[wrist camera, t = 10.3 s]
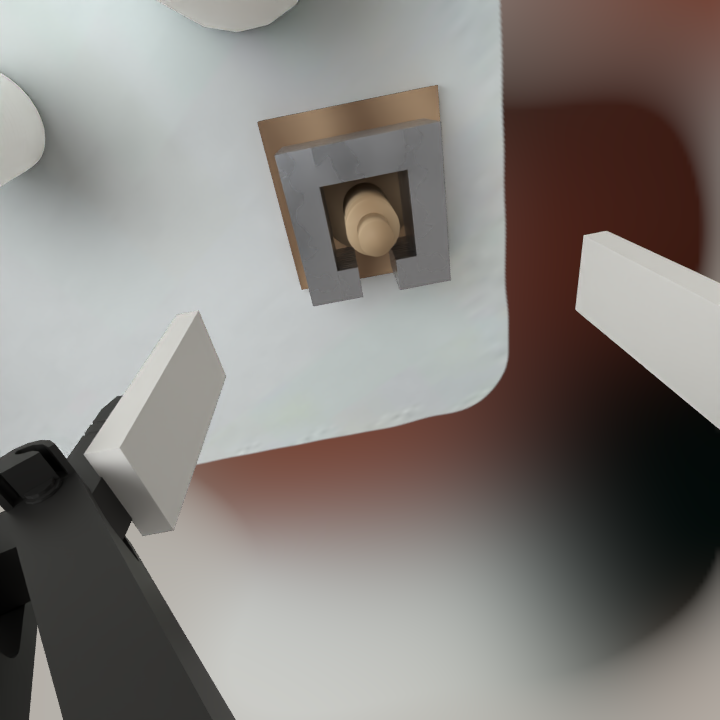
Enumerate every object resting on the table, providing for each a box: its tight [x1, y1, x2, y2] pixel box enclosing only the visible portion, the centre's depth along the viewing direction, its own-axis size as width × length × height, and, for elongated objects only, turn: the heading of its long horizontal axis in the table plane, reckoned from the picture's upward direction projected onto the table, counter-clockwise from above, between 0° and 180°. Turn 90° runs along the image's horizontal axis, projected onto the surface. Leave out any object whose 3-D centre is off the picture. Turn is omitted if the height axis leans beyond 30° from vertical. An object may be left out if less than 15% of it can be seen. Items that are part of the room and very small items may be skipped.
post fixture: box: [257, 85, 440, 290], centre depth 27 cm, size 12×12×12 cm
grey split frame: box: [274, 118, 451, 306], centre depth 27 cm, size 9×9×4 cm
